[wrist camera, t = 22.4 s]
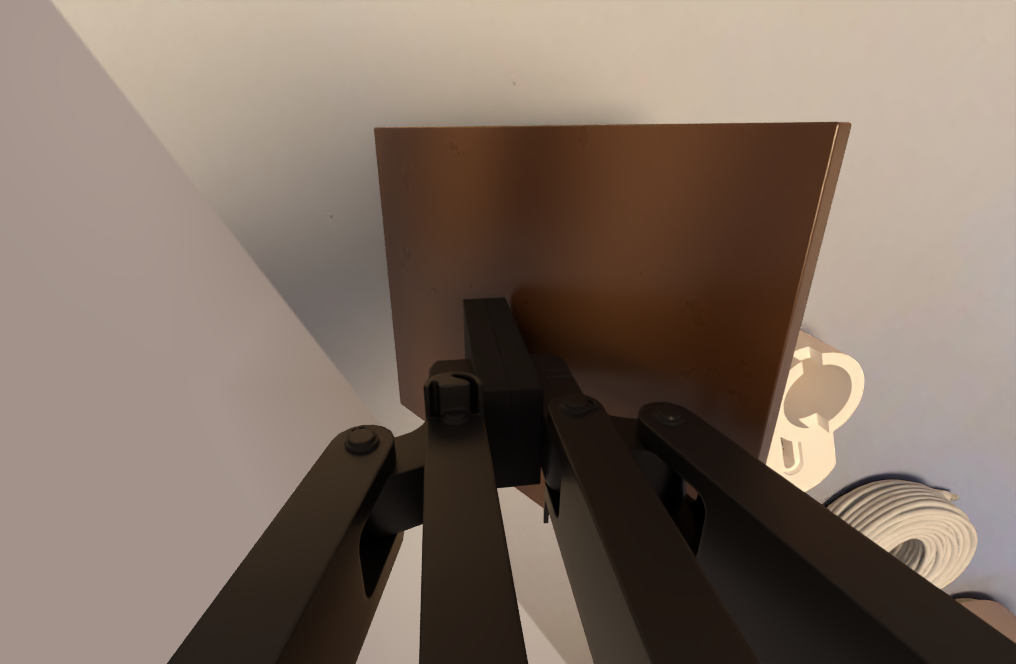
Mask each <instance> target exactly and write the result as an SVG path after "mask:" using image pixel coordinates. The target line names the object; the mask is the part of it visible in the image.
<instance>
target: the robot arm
mask: <svg viewBox="0 0 1016 664" xmlns="http://www.w3.org/2000/svg"><path fill="white" fill-rule="evenodd" d="M463 315H464V343H465V359H458V360H440V361H436V362H435V363H434V364H433V365H432V366H431V367H430V368H429V379H428V380H427V381H426V382H425V384H424V386H423V388H424V402H425V415H426V421H425V422H424V424H423V425H421V426H420V427H419V428H418V429H416V430H414V431H412V432H410V433H407V434H404V435H401V436H398V437H394V436H393V434H392V432H391V431H390V430H388V429H387V428H385V427H382V426H377V425H361V426H357V427H353V428H350V429H348V430H346V431H344V432H342V433H340V434H338V435H337V436H336V437H335V438H334V439H333V440H332V441H331V442H330V444H329V445H328V447H327V448H326V449H325V450H324V452H323V453H322V455H321V456H320V457H319V459H318V460H317V461H316V463H315V464H314V465H313V467H312V468H311V470H310V471H309V472H308V473H307V475H306V476H305V478H304V479H303V480H302V482H301V483H300V485H299V486H298V487H297V488H296V490H295V491H294V492H293V494H292V495H291V497H290V498H289V499H288V501H287V502H286V503H285V505H284V506H283V507H282V509H281V510H280V511H279V513H278V514H277V516H276V517H275V518H274V519H273V521H272V522H271V524H270V525H269V526H268V528H267V529H266V530H265V532H264V533H263V534H262V536H261V537H260V538H259V540H258V541H257V543H256V544H255V545H254V547H253V548H252V549H251V551H250V552H249V553H248V555H247V556H246V558H245V559H244V560H243V562H242V563H241V564H240V566H239V567H238V568H237V570H236V571H235V573H234V574H233V575H232V576H231V578H230V579H229V580H228V582H227V583H226V585H225V586H224V587H223V588H222V590H221V591H220V593H219V594H218V595H217V597H216V598H215V599H214V601H213V602H212V603H211V605H210V606H209V608H208V609H207V610H206V611H205V613H204V614H203V615H202V617H201V618H200V620H199V621H198V622H197V624H196V625H195V626H194V628H193V629H192V630H191V632H190V633H189V635H188V636H187V637H186V639H185V640H184V641H183V643H182V644H181V645H180V647H179V648H178V649H177V651H176V652H175V654H174V655H173V656H172V657H171V659H170V660H169V662H168V663H167V664H356V661H357V659H358V656H359V653H360V651H361V648H362V646H363V643H364V640H365V638H366V635H367V633H368V630H369V627H370V625H371V622H372V620H373V617H374V614H375V612H376V609H377V606H378V604H379V601H380V599H381V596H382V593H383V591H384V588H385V585H386V583H387V580H388V578H389V575H390V573H391V570H392V567H393V565H394V562H395V560H396V557H397V554H398V552H399V549H400V547H401V544H402V541H403V536H404V531H405V530H408V529H410V528H413V527H415V526H419V525H421V524H423V540H422V541H423V542H422V576H421V613H420V650H419V652H420V653H419V664H528V660H527V655H526V649H525V643H524V638H523V632H522V626H521V621H520V616H519V610H518V604H517V598H516V593H515V587H514V581H513V576H512V570H511V565H510V559H509V553H508V548H507V542H506V537H505V531H504V525H503V520H502V514H501V509H500V503H499V497H498V492H497V488H504V487H515V486H526V485H537V484H540V482H541V468H542V472H543V475H544V478H545V493H544V523H548V516H549V514H550V518H551V521H552V524H553V528H554V531H555V535H556V538H557V541H558V545H559V548H560V551H561V555H562V558H563V561H564V565H565V568H566V571H567V575H568V578H569V581H570V585H571V588H572V592H573V595H574V598H575V602H576V605H577V608H578V612H579V615H580V618H581V622H582V625H583V628H584V632H585V635H586V639H587V642H588V645H589V649H590V652H591V655H592V659H593V662H594V664H1016V643H1015V642H1013V641H1012V640H1011V639H1009V638H1008V637H1006V636H1005V635H1004V634H1002V633H1001V632H999V631H998V630H997V629H995V628H994V627H992V626H991V625H990V624H988V623H987V622H985V621H984V620H983V619H981V618H980V617H978V616H977V615H976V614H974V613H973V612H971V611H970V610H969V609H967V608H966V607H964V606H963V605H962V604H960V603H959V602H957V601H956V600H955V599H953V598H952V597H950V596H949V595H948V594H946V593H945V592H943V591H942V590H941V589H939V588H938V587H936V586H935V585H934V584H932V583H931V582H929V581H928V580H927V579H925V578H924V577H922V576H921V575H920V574H918V573H917V572H915V571H914V570H913V569H911V568H910V567H908V566H907V565H906V564H904V563H903V562H901V561H900V560H899V559H897V558H896V557H894V556H893V555H892V554H890V553H889V552H887V551H886V550H885V549H883V548H882V547H880V546H879V545H878V544H876V543H875V542H873V541H872V540H871V539H869V538H868V537H866V536H865V535H864V534H862V533H861V532H859V531H858V530H857V529H855V528H854V527H852V526H851V525H850V524H848V523H847V522H845V521H844V520H843V519H841V518H840V517H838V516H837V515H836V514H834V513H833V512H831V511H830V510H829V509H827V508H826V507H824V506H823V505H822V504H820V503H819V502H817V501H816V500H815V499H813V498H812V497H810V496H809V495H808V494H806V493H805V492H803V491H802V490H801V489H799V488H798V487H796V486H795V485H794V484H792V483H791V482H789V481H788V480H787V479H785V478H784V477H783V476H781V475H780V474H778V473H777V472H776V471H774V470H773V469H771V468H770V467H769V466H767V465H766V464H764V463H763V462H762V461H760V460H759V459H757V458H756V457H755V456H753V455H752V454H750V453H749V452H748V451H746V450H745V449H743V448H742V447H741V446H739V445H738V444H736V443H735V442H734V441H732V440H731V439H729V438H728V437H727V436H725V435H724V434H722V433H721V432H720V431H718V430H717V429H715V428H714V427H713V426H711V425H710V424H708V423H707V422H706V421H704V420H703V419H701V418H700V417H699V416H697V415H696V414H694V413H693V412H692V411H690V410H688V409H686V408H684V407H682V406H679V405H676V404H673V403H670V402H653V403H648V404H646V405H643V406H642V407H641V408H640V409H639V411H638V419H634V418H625V417H618V416H612V415H609V414H608V413H607V412H606V410H605V408H604V407H603V405H602V404H601V403H600V402H599V401H598V400H596V399H594V398H592V397H590V396H587V395H584V394H583V392H582V391H581V389H580V387H579V385H578V384H577V382H576V380H575V378H574V377H573V375H572V373H571V371H570V370H569V368H568V366H567V364H566V362H565V361H564V359H562V358H560V357H559V356H557V355H556V354H554V353H540V354H529V352H528V350H527V347H526V345H525V343H524V340H523V338H522V336H521V333H520V331H519V329H518V326H517V324H516V322H515V319H514V317H513V315H512V312H511V310H510V308H509V305H508V303H507V301H506V298H505V297H503V298H479V299H463ZM688 484H689V485H690V486H691V487H692V488H693V489H695V490H696V492H697V493H698V494H697V498H696V500H695V499H693V498H692V497H691V496H689V495H688V494H687V493H686V490H687V485H688Z"/></svg>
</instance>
